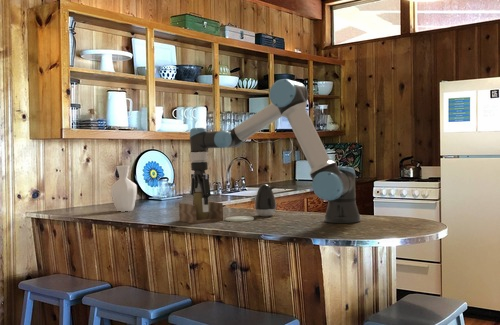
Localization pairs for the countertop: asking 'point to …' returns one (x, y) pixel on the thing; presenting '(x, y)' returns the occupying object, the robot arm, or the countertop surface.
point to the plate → (239, 219)
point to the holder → (189, 213)
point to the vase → (124, 191)
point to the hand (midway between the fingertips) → (201, 211)
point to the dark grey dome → (265, 201)
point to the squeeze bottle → (199, 204)
